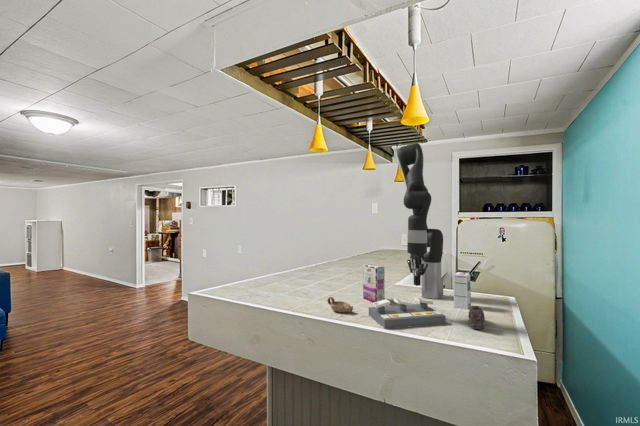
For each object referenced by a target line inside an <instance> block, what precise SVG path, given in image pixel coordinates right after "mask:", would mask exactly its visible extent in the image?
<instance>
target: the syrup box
mask: <svg viewBox="0 0 640 426" xmlns="http://www.w3.org/2000/svg"><path fill="white" fill-rule="evenodd" d="M452 276H453V278H452V279H453V281H452V282H453V307H454V308H459V309H466V310H468V309H470V308H471V307H472V303H471V302H472V299H471V298H472V296H471V295H472V294H471V291H472V290H471V273H469V272H462V271H461V272H460V271H459V272H456V273H454V274H453V275H452Z"/></svg>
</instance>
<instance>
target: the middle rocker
mask: <svg viewBox="0 0 640 426" xmlns="http://www.w3.org/2000/svg"><path fill="white" fill-rule="evenodd" d="M393 302H394V303H396V304H404V305H410V306H412V304H413V302H410V301H409V300H405V299H400V298H394V299H393Z"/></svg>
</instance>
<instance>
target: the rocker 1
mask: <svg viewBox="0 0 640 426" xmlns="http://www.w3.org/2000/svg"><path fill="white" fill-rule="evenodd" d="M390 305H391V301H390V300H388V299H386V298H384V300H381V301H378V302H372V307H375V308H379V307H382V306H390Z"/></svg>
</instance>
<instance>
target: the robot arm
mask: <svg viewBox="0 0 640 426" xmlns="http://www.w3.org/2000/svg"><path fill="white" fill-rule="evenodd" d="M396 151H397V153H396V154H397V159H398V162H399V164H400V169H401V171H402V174H403V178H404V181H405V186H406V191H405V194H404V197H403V206H404V207H405V208H407V209H408V210H412V215H411V214H410V215H409V216H408V220H407V225H408V226H407V229H408V230H407V239H406V240H407V243H406V244H407V249H406V251H407V254H409V259H407V260H406V261H407V265H408V269H409V271H410V273H411V274H412V276H413V285H414V286H421V297H422V298H424V299H429V300H431V299H433V300H434V299H441V298H444V278H443V277H442V258H443V253H444V251H443V250H444V235H443V232H442V230H441V229H439V228H429V227H428V223H427V222H428V221H427V220H428V214H429V210H430V207H431V205H432V196H431V193H430V192H429V190H428V188H427V186H426V185H425V182H424V181H425V180H424V174H423V173H424V153H423V152H424V151H423V148H422V146H421V144H419V142H415V143H410V144H408V145H404V146H401V147H398V148H397V150H396ZM411 165H412V166H411ZM409 166H411V168H409ZM428 248H429V252H428Z"/></svg>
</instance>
